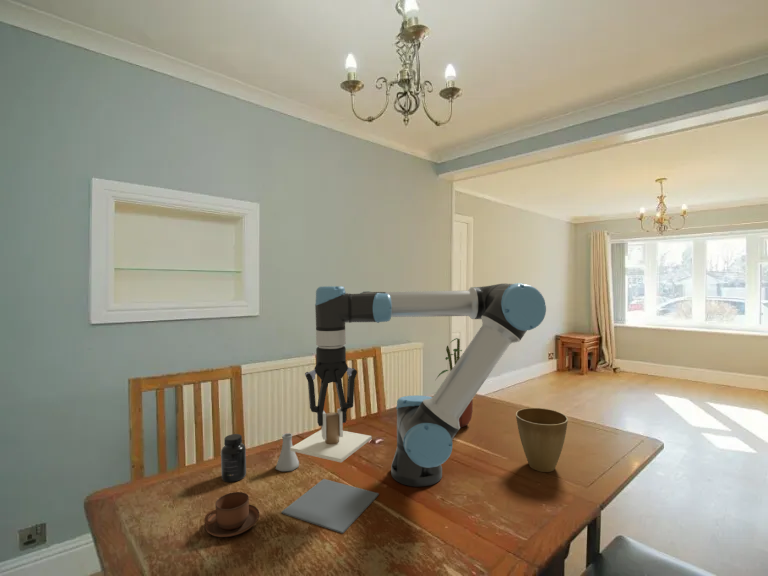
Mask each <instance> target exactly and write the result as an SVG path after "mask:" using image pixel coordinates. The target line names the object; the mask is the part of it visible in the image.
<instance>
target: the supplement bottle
mask: <svg viewBox="0 0 768 576" xmlns="http://www.w3.org/2000/svg"><path fill="white" fill-rule="evenodd" d="M242 437H243V436H242V434H239V433H233V434H229V435H226V436H225V437H224V443H223V447H222V448H221V449H220V460H221V462H220V465H221V466H220V467H221V468H220V471H221V479H222V481H223V482H225V483H234V482H238V481H241V480H242V479H244V478H245V477H246V475H247V453H246V452H247V451H246V449H247V448H246V445H245V444H244V443H243V438H242Z"/></svg>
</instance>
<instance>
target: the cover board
mask: <svg viewBox="0 0 768 576" xmlns="http://www.w3.org/2000/svg"><path fill="white" fill-rule="evenodd" d="M371 440H372V435H368V434H363V433H359V432H358V433H357V432H352V431H347V430H343V437H339V414H338V413H337V412H335V411H334V412H332V411H331V412H326V439H325V440H323V438H322V428H321V429H320V430H318V431H316V432H315V433H312V434H311V435H309V436H307V437H306V438H304V439H303V440H301V441H300V442H298V443H296V444H294V445H293V446H292V447H291V448H290V451H293V452H295V453H298V454H303V455H306V456H310V457H316V458H318V459H319V458H320V459H324V460H329V461H332V462H338V463H343V462H344V461H345V460H346V459H347V458H349V457H350V456H351V455H353V454H355V452H357V451H358V450H360V449H361V448H362V447H363V446H364V445H366V444H367V443H368V442H370V441H371Z"/></svg>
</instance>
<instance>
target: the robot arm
mask: <svg viewBox="0 0 768 576" xmlns="http://www.w3.org/2000/svg"><path fill="white" fill-rule="evenodd" d="M314 306H315V307H314V308H315V310H314V311H315V344H316V346H317V347H316V348H315V349H316V350H315V354H316V355H315V356H316V357H315V358H316V364H315V366H314V369H313V370H311V371H306V372H305V373H304V376H305V378H306V380H307V387H308V399H309V409H310V411H311V412H312V413H316V414H317V415H316V419H317V425H318V427H321V429H322V438H323V440H325V439H326V414H327V412H325V410H324V408H325V404H326V403H325V402H326V397H327V390H328V387H329V384H331V383H334V384H335V386H336V392H337V396H338V397H337V398H338V401H339V402H338V404H339V407H340V408H337V411H336V413H338V414H339V437H343V431H344V430H343V426H344V425H343V424H346V423H347V411H348V409H351V408H353V407H354V402H355V401H354V400H355V399H354V398H355V381H356V380H355V379H356V376H357V374H358V370H356V368H353V367H349V366H348V364H347V362H346V361H347V358H346V357H347V353H346V351H347V349H346V348H347V347H346V346H345V344H346V323H349V324H350V323H378V324H379V323H385V322H389V321H391V320H392V319H391V318H411V317H412V318H416V317H417V318H421V317H423V318H424V317H427V318H428V317H433V318H434V317H469V318H470V319H471V320H481V322H482V323H481V324H482V325H481V327H480V328H479V330H478V331H477V332H476V334H475V335H474V336H473V338H472V340H471V341H470V343H469V344H468V345H467V347H466V349H465V350H464V351H463V352H462V353H461V356H460V358H459V360H458V361H457V363H456V364H455V363H454V365H453V366H452V367H453V368H452V370H451V371H450V370H449V373H448V374H447V375H446V377H445V379H444V380H443V382H441V385H440V386H439V388H437V390H436V392H435V393H434V394H433V396H429V395H406V396H401V397H399V398H398V399H397V400H396V407H395V409H396V449H395V453H394V455H393V459H392V462H391V466H390V468H391V469H390V471H391V472H390V474H391V477H392V479H393V480H395V481H396V482H398V483H399V484H402V485H405V486H407V487H408V486H409V487H417V488H419V487H420V488H421V487H422V488H424V487H429V486H432V485H435V484H436V483H438V482H440V480H442V478H443V467H442V464H443V465H444V463H446V461H448V459H449V458H450V457H451V455H452V451H453V444H454V443H453V439H454V437H455V436H456V435H457V433H458V432H459V430H460V429H461V427H460V425H459V418H460V416H461V415H462V413H463V412H464V411H465V409H466V408H467V406H468V405H469V403H470V402H471V400H472V399H474V398H475V396H476V395H477V394H478V392H479V390H480V389H481V388H482V386H483V384H484V383H485V382H486V380H487V378H488V377H489V376H490V374H491V373H492V372H493V370H494V368H495V367H496V365H497V364H498V363H499V361H500V360H501V358H502V357H503V355H505V352H506V351H507V350H508V348H509V347H510V345H511V344H515V343H519V342H520V341H521V340H522V339H523V337H524V336H525V334H526V333H527V331H531V330H534V329H536V328H537V327H538V326H539V327H540V325H541V324H542V322H543V321H544V319H545V316H546V312H547V304H546V300H545V298H544V296H543V294H542V293H541V292H540V290H538V289H537V287H534V286H533V285H530V284H526V283H522V282H517V283H516V282H515V283H498V284H491V285H485V286H484V285H483V286H474V287H473V286H471V287H469V289H468V290H423V291H421V290H418V291H417V290H416V291H415V290H413V291H412V290H411V291H410V290H407V291H363V292H360V293H349V292H348V293H347V292H346V289H345V286H343V285H342V286H339V285H338V286H337V285H335V286H332V285H331V286H330V285H328V286H327V285H326V286H323V285H322V286H319V287H317V288H316V290H315V304H314ZM345 374H346V375H347V387H346V390H347V393H346V398H345V392H344V388H343V380H342V379H343V377H344V375H345ZM316 375H317V376H318V377H319V379H320V387H319V395H318V400H317V405H316V393H315V392H316V391H315V382H314V380H315V379H316Z"/></svg>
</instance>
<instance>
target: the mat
mask: <svg viewBox="0 0 768 576" xmlns="http://www.w3.org/2000/svg"><path fill="white" fill-rule="evenodd" d="M379 495H380V493H379V492H375V491H373V490H372V491H371V490H368V489H365V488H364V489H363V488H359V487H357V486H353V485H349V484H345V483H341V482H337V481H333V480H330V479H326V478H323V479H321V480H320V481H319V482H317V483H316V484H315V485H314V486H313V487H311V488H310V489H309V490H307V491H306V492H305V493H304V494H302V495H301V496H299V497H298V498H297V499H296V500H294V501H293V502H292V503H291V504H290V505H288V506H286V508H284V509H283V510H282V511H281V514H283V515H285V516H289V517H292V518H295V519H298V520H301V521H304V522H307V523H310V524H313V525H316V526H319V527H322V528H325V529H328V530H330V531H334V532H337V533H339V534H344V533H345V532H346V531H347V530H348V529H349V528H350V526H351V525H352V524H353V523H354V522H355V521H356V520H357V519H358V518H359V517H360V516H361V515H362V514H363V513H364V512H365V511H366V510H367V508H368V507H369V506H370V505H371V504H372V503H373V502H374V501H375V500H376V498H377V497H379Z"/></svg>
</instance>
